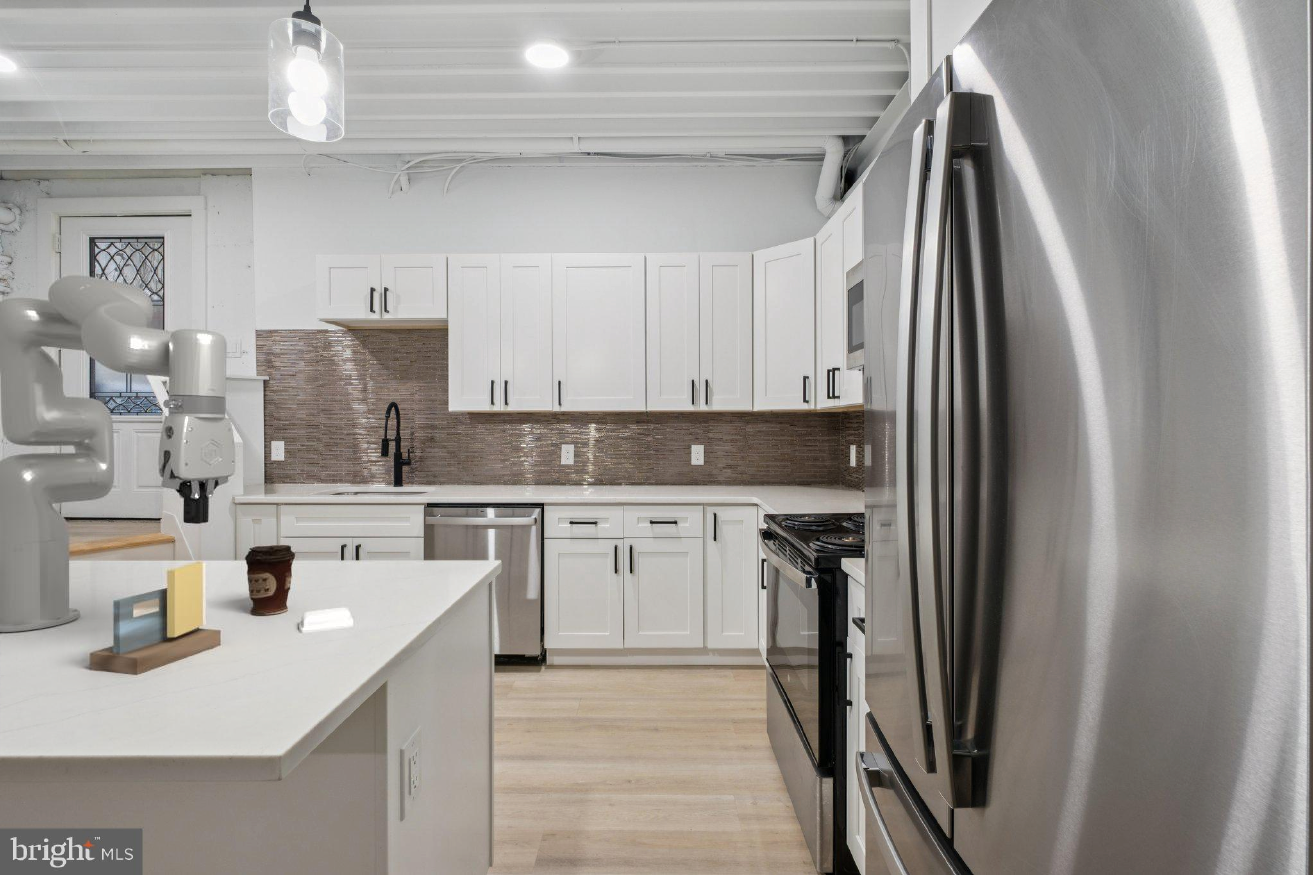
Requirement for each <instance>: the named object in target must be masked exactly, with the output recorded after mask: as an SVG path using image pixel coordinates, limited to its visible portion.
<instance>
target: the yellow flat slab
mask: <svg viewBox="0 0 1313 875" xmlns="http://www.w3.org/2000/svg"><path fill="white" fill-rule="evenodd" d="M206 567H207V565H206V561H196V562H192V563H188V564H186V565H182V566H179V567H175V568H172V569H168V570H166V585H167V586H166V588H167V637H176V636H179V635H181V634H184V633H186V632H188V631H191V630H193V629H196V628H198V627H199V628H200V627H203V626H205V625H206V624H207V622H206V618H207V617H206V616H207V615H206V613H207V612H206V610H207V608H206V603H207V602H206V601H207V600H206V598H207V596H206V593H207V592H206V587H207V586H206V585H207V584H206V580H207V579H206V573H207V570H206Z"/></svg>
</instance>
